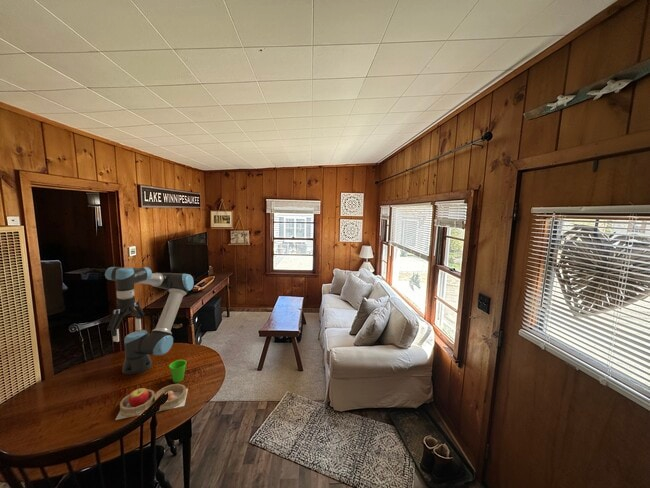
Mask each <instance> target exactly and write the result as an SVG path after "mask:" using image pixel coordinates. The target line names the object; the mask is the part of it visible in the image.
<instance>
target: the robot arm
mask: <svg viewBox="0 0 650 488" xmlns="http://www.w3.org/2000/svg"><path fill="white" fill-rule="evenodd" d="M104 276H105V279H107V280H109V281H115V284H116V298H117V299H116V304H117V306H118V307H117V308H118V309H113V310H112V311H111V313H112V314H111V317H110V321H109V323H108V326H107V329H106V330H107V331H111V336H112V342H116V343H118V342H120V332H119V330H120V329H119V326H120V324H121V323H122V321H123V318H124V317H126V316H127V315H129V314H131V315H133V316H134V317H135V318H134V319H135V321H134V322H135V323H134V324H135V331H133V332H130V333H128V334H127V335H126V336H125V337H124V343H123V344H124V357H125V358H124V363H123V365H122V368H121V371H122V372H121V373H122V374H123V375H126V376H131V375H138V374H141V373H143V372H145V371H147V370H148V369H150V368H151V367H152V363H153V362H152V358H151V357H150V355H151V356H152V355H153V356H163V355H165V354H167V353H168V352H169V351H170V350H171V348H172V346H173V344H174V337H173V336H172V335H173V333H172V331H171V330H172V328H173V324H174V322H175V320H176V317H177V314H178V311H179V308H180V306H181V303H182V301H183V297H184V296H186V295H187V294H188V292H189V291H191V290H193V288H194V286H195V285H194V283H195V282H194V278H193V276H192V275H191V274H190V273H189V274H188V273H176V272H174V273H173V272H154V273H152V269H151V268H150V267H148V266H143V267H137V268H136V267H121V266H111V267H108V268H107V269H105V272H104ZM135 284H142V285H143V284H144V285H150V286H152V287H155V288H159V289H165V290H168V292H169V294H168V297H167V299H166V303H165V305H164V306H163V309H162V311H161V314H160V317H159V319H158V322H157V324H156V326H155V328H154V329H152V330H151V332H150V333H148V331H147V330H146V329H142V319H143V318H144V316H145V312H144V310H143V309H142V307H141V305H140V301H136V295H135Z"/></svg>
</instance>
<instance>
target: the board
mask: <svg viewBox="0 0 650 488" xmlns="http://www.w3.org/2000/svg"><path fill="white" fill-rule="evenodd" d="M188 391H189V388H186V398H185V400H184V401H183V402H182V403H181V404H180V405H178V406H176V407H174V408H171V409H177V408H182V407H185V405H186V399H187V395H188ZM154 394H155V395H156V393H154ZM181 394H182V393H180V392H173V395H174V396H175V397H176V398H177V397H178V396H180V395H181ZM148 400H150V398H148V399H147V401H148ZM147 401H146V402H147ZM167 401H168V400H167ZM125 407H127V408H132V406H131V405H130V404H127V405H126V406H125ZM171 409H170V410H171ZM167 410H168V409H166V410H165V411H167ZM161 411H163V410H159V411H158V412H161ZM137 416H141V414H139V415H137ZM137 416H136V417H137ZM132 417H134V416H132ZM132 417H131V418H132ZM127 418H129V417H125V416H122V415H121V412H120V411H119V412H118V414H117V416H116V418H115V419H114V420H115V421H117V420H123V419H127Z"/></svg>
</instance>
